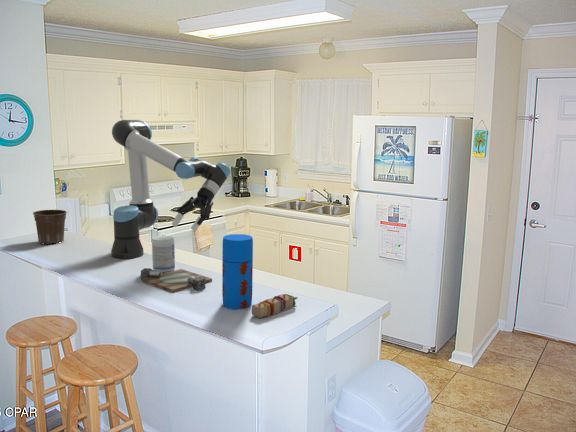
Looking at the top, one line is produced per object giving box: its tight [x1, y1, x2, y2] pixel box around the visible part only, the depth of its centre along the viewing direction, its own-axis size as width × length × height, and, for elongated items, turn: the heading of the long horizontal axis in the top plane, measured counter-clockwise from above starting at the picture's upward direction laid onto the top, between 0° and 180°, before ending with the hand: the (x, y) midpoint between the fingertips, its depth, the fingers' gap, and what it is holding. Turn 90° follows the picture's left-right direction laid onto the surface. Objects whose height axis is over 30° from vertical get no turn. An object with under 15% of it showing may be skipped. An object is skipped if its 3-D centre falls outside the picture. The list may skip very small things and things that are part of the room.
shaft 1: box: [140, 267, 161, 281], centre depth 215 cm, size 7×4×4 cm, turn 80°
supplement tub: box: [151, 235, 176, 274], centre depth 228 cm, size 10×10×15 cm
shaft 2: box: [188, 277, 206, 291], centre depth 206 cm, size 7×4×4 cm, turn 50°
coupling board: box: [141, 268, 213, 293], centre depth 214 cm, size 20×20×2 cm
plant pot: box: [32, 209, 68, 245], centre depth 273 cm, size 16×16×16 cm
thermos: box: [221, 233, 254, 310], centre depth 187 cm, size 11×11×25 cm
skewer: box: [251, 293, 298, 319], centre depth 184 cm, size 21×6×5 cm, turn 137°
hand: (183, 227), depth 234 cm, fingers open, 13 cm apart
